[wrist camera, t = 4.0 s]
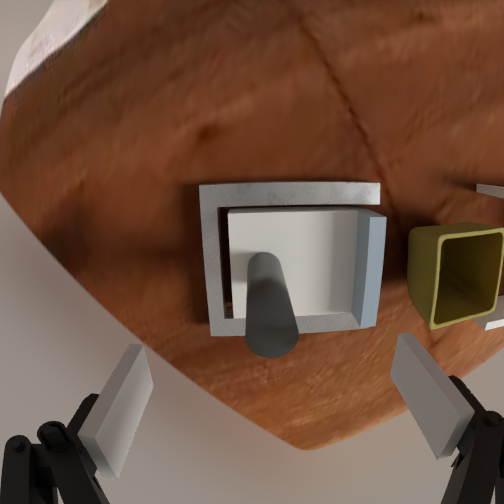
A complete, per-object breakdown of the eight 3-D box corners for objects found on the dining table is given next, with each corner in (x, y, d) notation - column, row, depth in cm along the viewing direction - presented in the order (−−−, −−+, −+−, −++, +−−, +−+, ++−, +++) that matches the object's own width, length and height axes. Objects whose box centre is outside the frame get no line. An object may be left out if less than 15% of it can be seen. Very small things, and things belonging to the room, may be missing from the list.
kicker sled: (235, 304, 33) (225, 401, 19) (230, 208, 30) (211, 251, 16) (356, 299, 33) (413, 383, 19) (362, 206, 30) (442, 244, 16)
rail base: (213, 324, 34) (211, 336, 31) (203, 183, 30) (198, 185, 27) (361, 317, 34) (368, 327, 31) (370, 181, 29) (380, 183, 27)
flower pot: (457, 210, 30) (507, 227, 22) (452, 281, 33) (495, 312, 24) (393, 215, 30) (438, 235, 22) (391, 292, 33) (428, 331, 24)
